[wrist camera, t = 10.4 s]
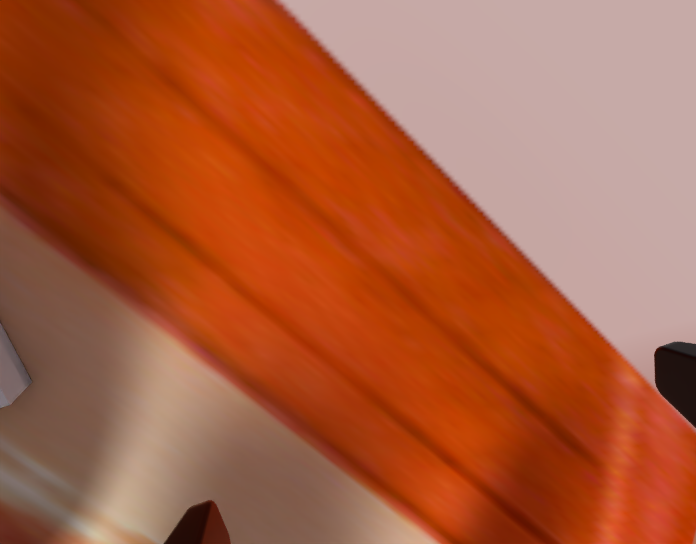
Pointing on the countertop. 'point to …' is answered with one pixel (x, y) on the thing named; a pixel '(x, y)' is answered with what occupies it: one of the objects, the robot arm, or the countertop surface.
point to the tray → (10, 372)
